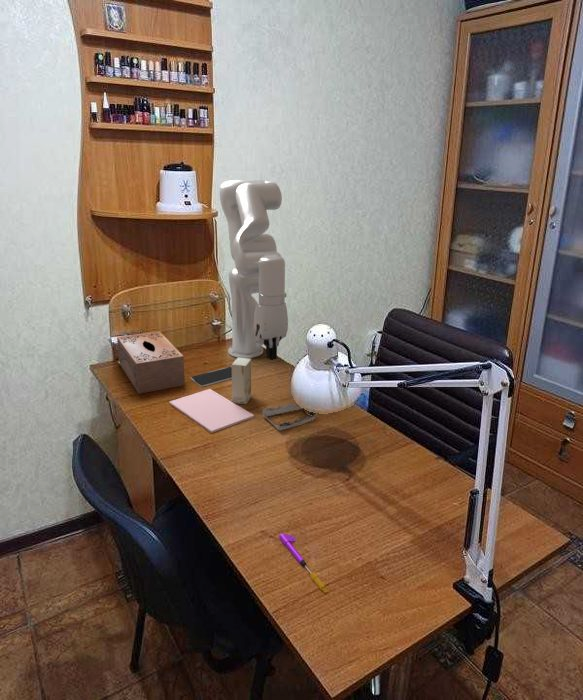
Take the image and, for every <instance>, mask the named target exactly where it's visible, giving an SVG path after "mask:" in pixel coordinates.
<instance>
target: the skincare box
mask: <svg viewBox="0 0 583 700" xmlns="http://www.w3.org/2000/svg"><path fill="white" fill-rule="evenodd" d="M231 367H232V380H231V402H233V403H234V404H239V405H247V404H248V402H249V400H250V399H251V397H252V358H237V357H236V358H235V360H234V361H233V363H231Z"/></svg>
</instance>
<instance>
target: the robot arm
mask: <svg viewBox="0 0 583 700" xmlns="http://www.w3.org/2000/svg"><path fill="white" fill-rule="evenodd" d="M282 196H283V195H282V190H281V189H280V187H279V185H278V184H277V183H276V182H273V181H270V180H266V179H265V180H264V179H231V180H226V181H223V183H221V184H220V186H219V201H220V205H221V208H222V210H223V213H224V215H225V216H224V217H225V218H226V221H227V222H226V223H227V227H228V241H229V250H230V254H231V255H230V256H231V259H232V260H233V261H234V266H235V267H233V268H232V269H231V270H230V271H229V273H228V282H229V283H228V285H229V290H230V296H231V327H232V328H231V330H232V335H231V338H232V339H231V340H232V345H230V346H229V348H228V349H227V350H228V351H227V352H228V355H230V356H231V357H233V358H234V357H235V358H236V359H237V358H247V359H253V358H256V357H257V358H258V357H259V356H261V355H262V354H263V353H264V348H263V347H262V346H265V357H266V359H268V360H271V361H274V360H277V358H278V357H277V356H278V347H279V345H280V342H281V340H283V339H284V338H286V337H287V333H288V331H289V316H288V308H287V303H286V302H285V298H287V297H288V295H287V293H286V292H285V291H286V290H285V289H286V287H285V286H286V261H285V259H284V258H283V257H282V255H281V253H279V252H278V249H277V243H276V240H275V238H274V237H273V236H272V235H271V234H267V233H265V232H267V230H269V228H270V219H269V216H268V215H269V214H268V211H273V210H274V211H276V210H278V209H279V208H280V207H281V205H282V201H283V199H282V198H283V197H282ZM267 210H268V211H267ZM254 294H258V301H257V300H256V298H255V297H254V296H253V295H254Z"/></svg>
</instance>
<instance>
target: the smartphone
mask: <svg viewBox="0 0 583 700" xmlns="http://www.w3.org/2000/svg"><path fill="white" fill-rule="evenodd" d="M190 380H191V381H192V382H193V383H195V384H197V386H199V387H200V388H204V387H207V386H208V387H209V386H212V385H215V384H218V383H223V382H227V381H232V366H227V367H224V368H219V369H216V370H212V371H209V372H203V373H201V374H196V375H194V376H190Z"/></svg>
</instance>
